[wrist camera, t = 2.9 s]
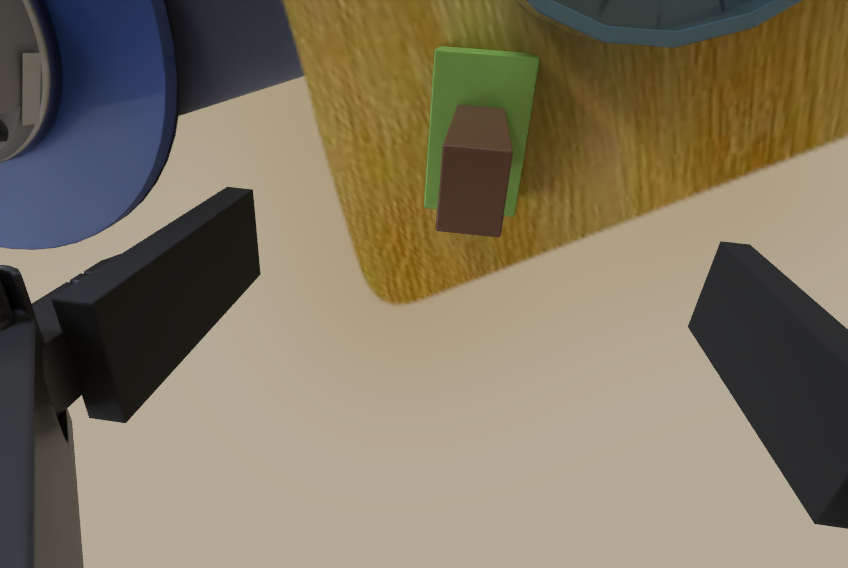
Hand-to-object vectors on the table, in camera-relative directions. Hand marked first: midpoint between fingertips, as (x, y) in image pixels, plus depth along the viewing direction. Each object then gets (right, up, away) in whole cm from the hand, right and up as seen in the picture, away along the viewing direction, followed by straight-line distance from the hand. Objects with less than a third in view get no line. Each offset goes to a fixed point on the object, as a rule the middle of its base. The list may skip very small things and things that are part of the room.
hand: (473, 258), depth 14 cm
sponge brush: (+2, +8, +14) cm, 16 cm away
